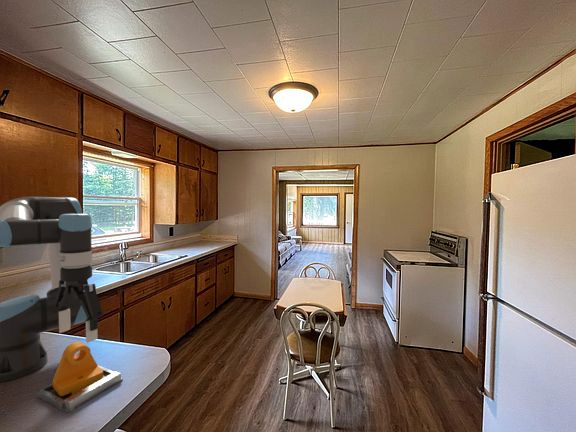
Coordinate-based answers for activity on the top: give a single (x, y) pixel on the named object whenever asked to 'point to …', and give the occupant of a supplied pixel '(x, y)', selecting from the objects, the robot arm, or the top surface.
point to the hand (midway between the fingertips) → (78, 335)
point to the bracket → (76, 370)
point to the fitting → (79, 398)
